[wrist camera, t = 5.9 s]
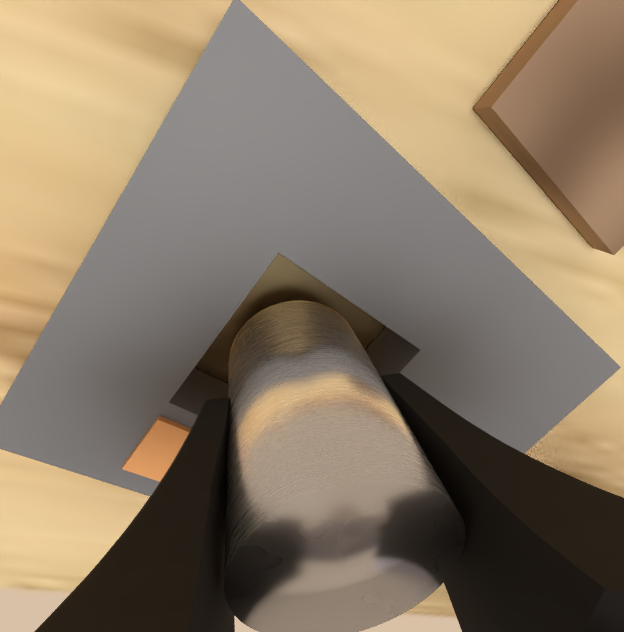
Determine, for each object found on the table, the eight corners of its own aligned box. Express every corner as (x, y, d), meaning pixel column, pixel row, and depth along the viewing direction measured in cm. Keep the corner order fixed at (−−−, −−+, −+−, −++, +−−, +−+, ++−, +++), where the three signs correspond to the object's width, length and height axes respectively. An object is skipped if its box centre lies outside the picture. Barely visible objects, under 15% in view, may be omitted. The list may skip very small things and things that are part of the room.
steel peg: (382, 348, 13) (508, 536, 7) (300, 428, 14) (349, 655, 8) (289, 273, 12) (352, 440, 5) (201, 371, 13) (169, 608, 6)
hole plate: (572, 337, 17) (625, 370, 15) (374, 525, 21) (392, 576, 19) (235, 24, 10) (235, -7, 8) (20, 391, 14) (-25, 446, 11)
